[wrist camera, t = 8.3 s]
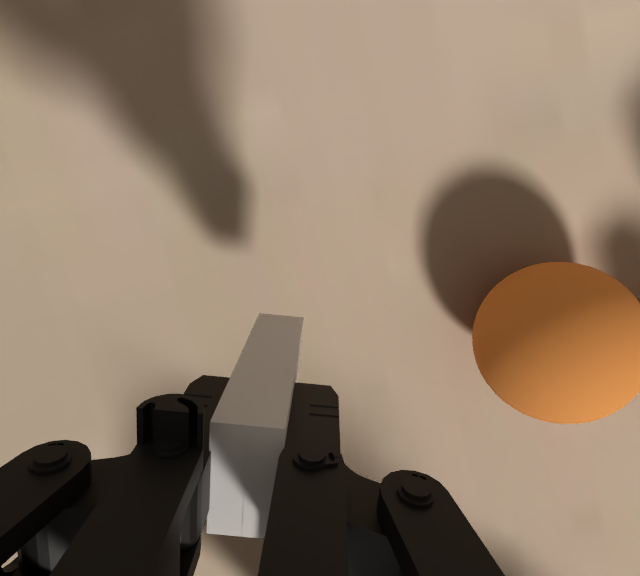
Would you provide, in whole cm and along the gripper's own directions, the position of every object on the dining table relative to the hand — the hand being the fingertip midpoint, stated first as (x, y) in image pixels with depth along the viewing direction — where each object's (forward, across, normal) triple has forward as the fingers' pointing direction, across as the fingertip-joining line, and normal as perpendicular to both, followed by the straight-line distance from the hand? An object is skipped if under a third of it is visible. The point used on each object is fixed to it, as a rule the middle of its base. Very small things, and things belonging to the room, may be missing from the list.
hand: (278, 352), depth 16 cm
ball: (+2, -10, -1) cm, 10 cm away
